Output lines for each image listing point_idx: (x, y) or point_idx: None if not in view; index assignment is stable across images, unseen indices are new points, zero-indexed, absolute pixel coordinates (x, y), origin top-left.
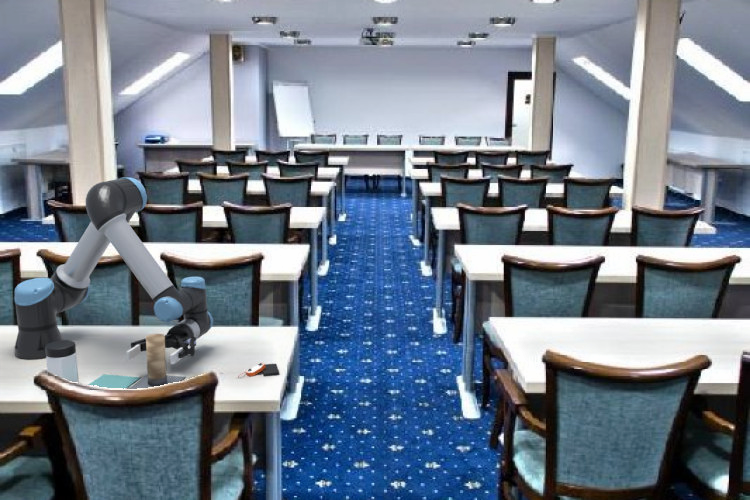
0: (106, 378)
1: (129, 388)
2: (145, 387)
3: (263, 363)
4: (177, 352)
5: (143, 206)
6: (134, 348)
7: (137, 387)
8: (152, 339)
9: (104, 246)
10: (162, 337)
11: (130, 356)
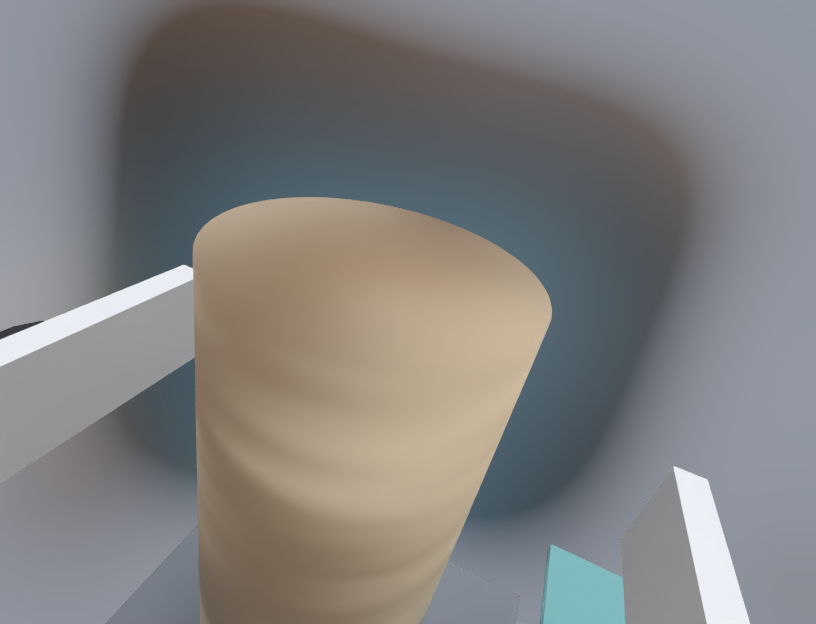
0: None
1: (511, 607)
2: None
3: None
4: (88, 313)
5: None
6: (697, 592)
7: (457, 611)
8: (409, 211)
9: None
10: (258, 206)
11: (642, 535)
